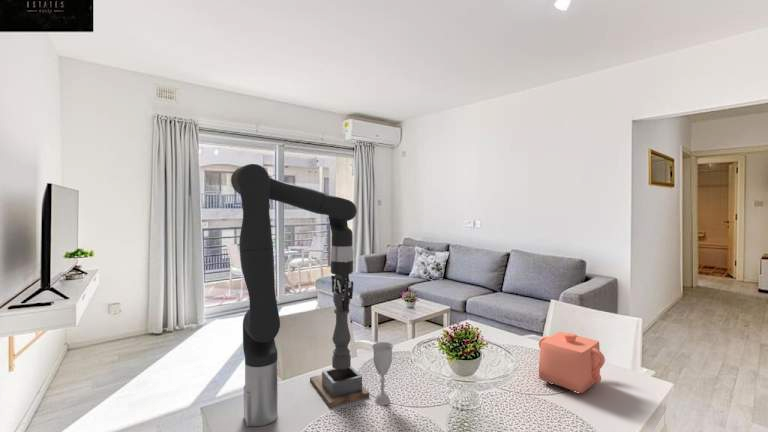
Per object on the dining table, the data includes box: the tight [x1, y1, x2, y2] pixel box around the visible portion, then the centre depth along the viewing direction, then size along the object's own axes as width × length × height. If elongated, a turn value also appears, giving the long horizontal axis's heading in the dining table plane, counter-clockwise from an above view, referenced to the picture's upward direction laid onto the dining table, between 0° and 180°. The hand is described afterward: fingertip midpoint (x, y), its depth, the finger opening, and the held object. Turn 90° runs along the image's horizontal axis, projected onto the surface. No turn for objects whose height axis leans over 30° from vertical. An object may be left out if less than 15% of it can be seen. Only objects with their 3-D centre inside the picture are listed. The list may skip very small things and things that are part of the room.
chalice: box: [371, 341, 394, 406], centre depth 123 cm, size 7×7×18 cm
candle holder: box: [331, 291, 352, 370], centre depth 128 cm, size 6×6×25 cm
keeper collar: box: [321, 365, 363, 399], centre depth 128 cm, size 10×10×5 cm
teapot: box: [538, 331, 606, 394], centre depth 139 cm, size 25×23×18 cm
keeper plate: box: [309, 374, 370, 408], centre depth 131 cm, size 14×20×2 cm
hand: (341, 308), depth 128 cm, fingers closed on candle holder, 5 cm apart
